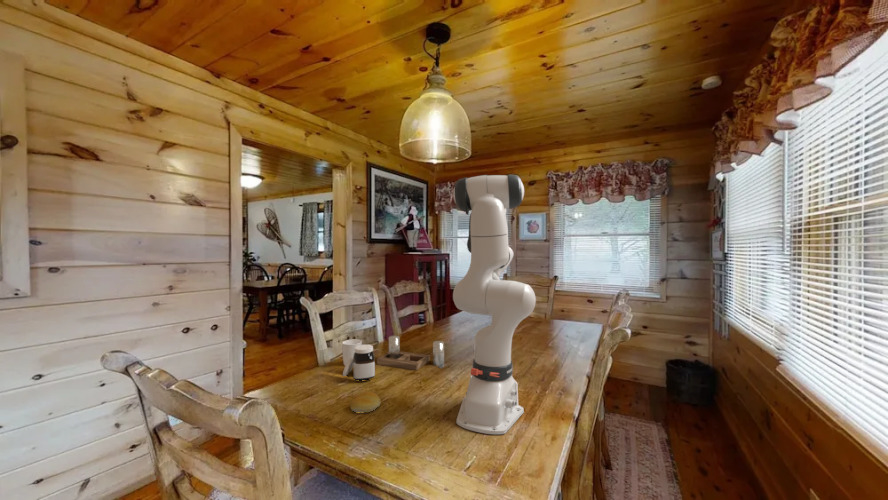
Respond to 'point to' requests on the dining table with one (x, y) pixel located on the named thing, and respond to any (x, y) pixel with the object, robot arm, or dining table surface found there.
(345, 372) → the spread jar
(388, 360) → the wooden divided tray
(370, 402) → the bread roll
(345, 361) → the white cup
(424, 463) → the dining table surface
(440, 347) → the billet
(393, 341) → the cylinder
